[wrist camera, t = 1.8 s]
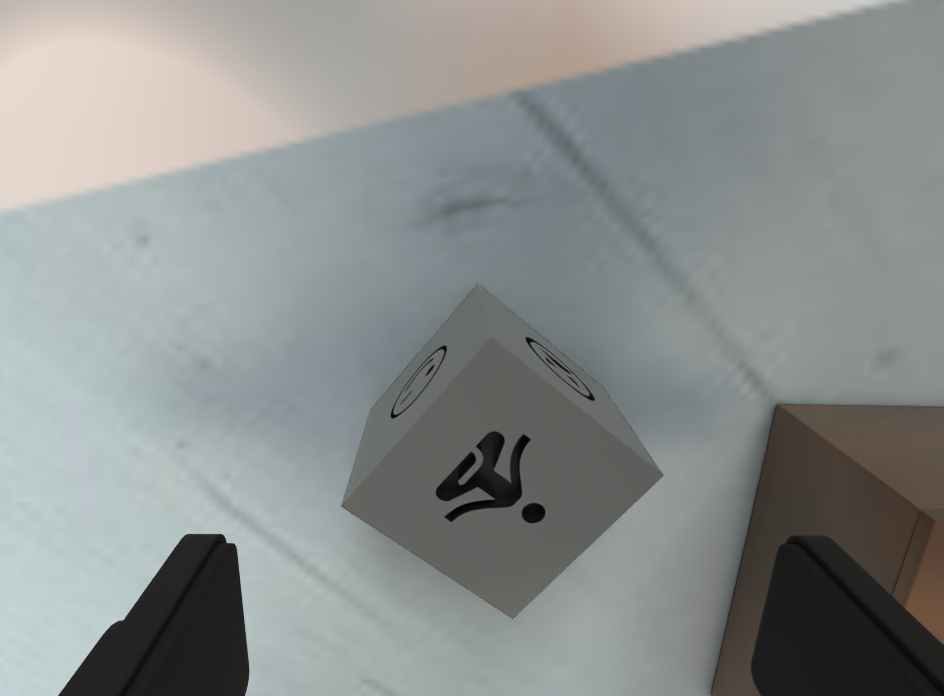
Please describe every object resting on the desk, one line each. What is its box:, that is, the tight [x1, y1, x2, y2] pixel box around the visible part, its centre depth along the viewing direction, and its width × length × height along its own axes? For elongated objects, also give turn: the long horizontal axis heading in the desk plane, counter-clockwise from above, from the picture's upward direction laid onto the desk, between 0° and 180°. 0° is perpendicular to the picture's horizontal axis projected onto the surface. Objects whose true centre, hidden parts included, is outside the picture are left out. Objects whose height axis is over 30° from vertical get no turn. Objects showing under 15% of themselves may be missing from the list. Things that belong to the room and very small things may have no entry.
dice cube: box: [341, 284, 664, 619], centre depth 15 cm, size 5×5×5 cm
